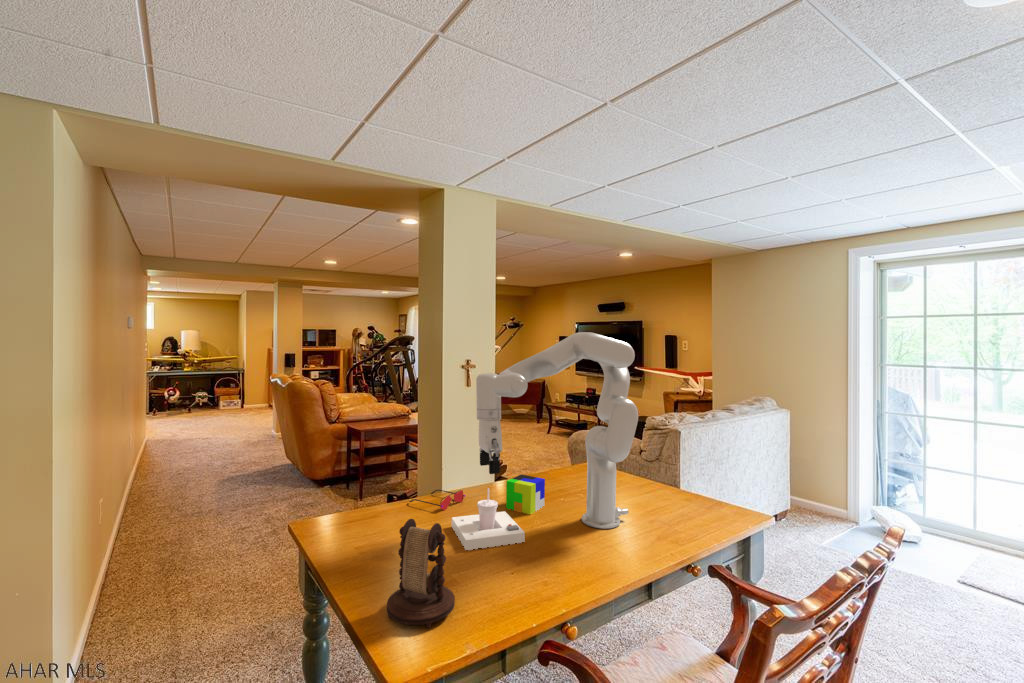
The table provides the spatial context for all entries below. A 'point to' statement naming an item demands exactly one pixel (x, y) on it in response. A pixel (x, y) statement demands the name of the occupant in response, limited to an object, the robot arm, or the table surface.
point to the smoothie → (487, 513)
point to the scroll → (420, 578)
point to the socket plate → (487, 531)
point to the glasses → (447, 499)
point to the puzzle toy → (525, 493)
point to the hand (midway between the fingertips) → (489, 469)
